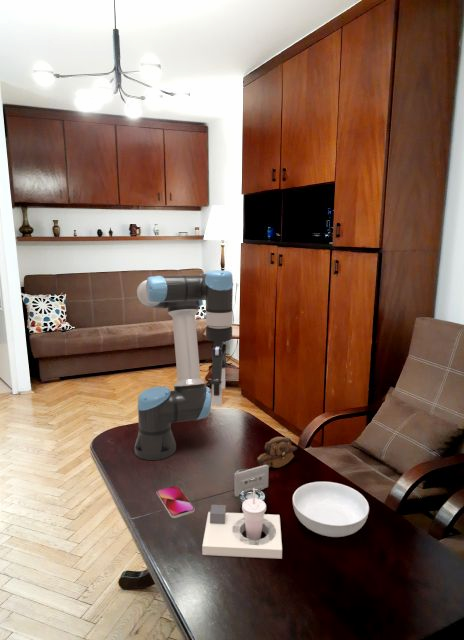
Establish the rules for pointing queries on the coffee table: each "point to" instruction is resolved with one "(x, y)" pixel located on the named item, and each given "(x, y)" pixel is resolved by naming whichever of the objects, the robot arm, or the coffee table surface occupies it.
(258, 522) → the smoothie
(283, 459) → the wooden carving
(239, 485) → the cassette
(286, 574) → the coffee table surface
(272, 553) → the dock plate
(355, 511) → the serving bowl
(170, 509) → the smartphone
